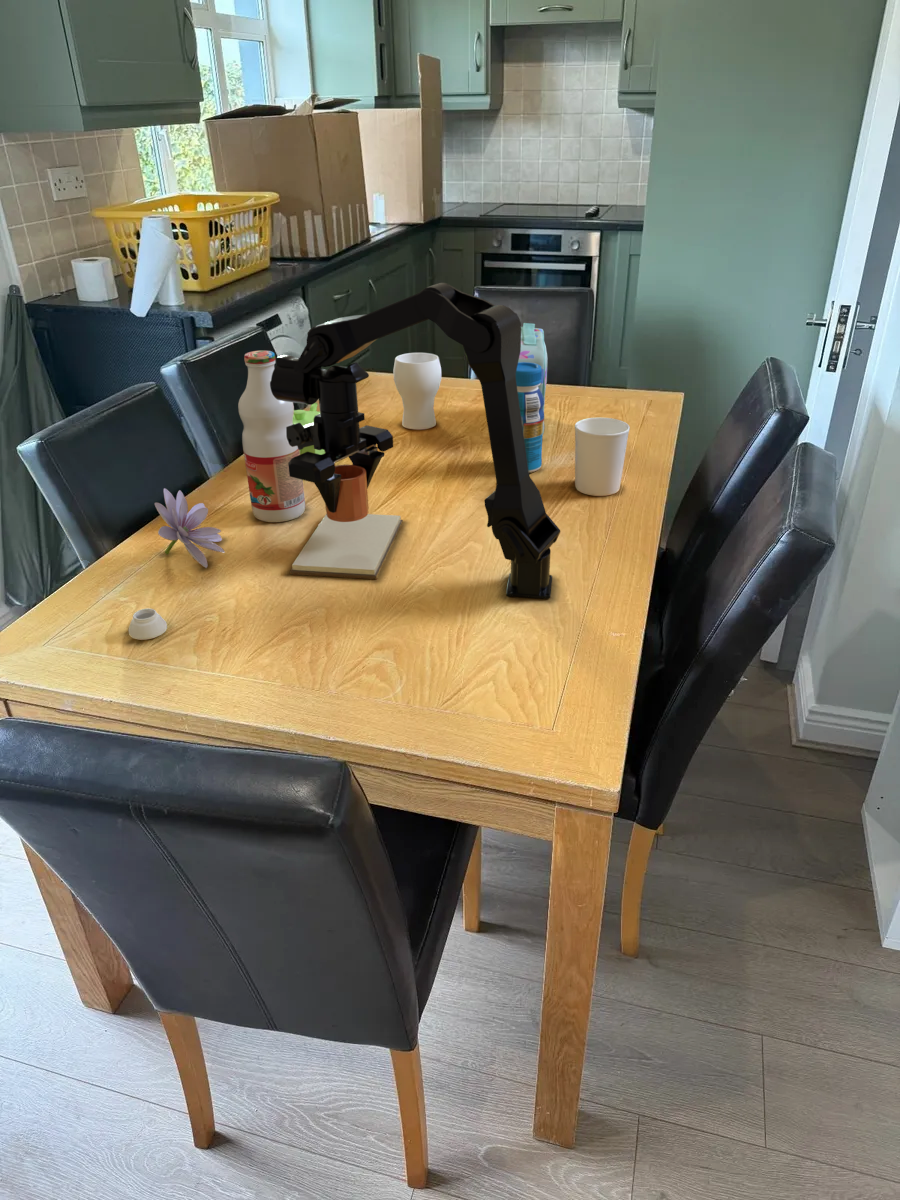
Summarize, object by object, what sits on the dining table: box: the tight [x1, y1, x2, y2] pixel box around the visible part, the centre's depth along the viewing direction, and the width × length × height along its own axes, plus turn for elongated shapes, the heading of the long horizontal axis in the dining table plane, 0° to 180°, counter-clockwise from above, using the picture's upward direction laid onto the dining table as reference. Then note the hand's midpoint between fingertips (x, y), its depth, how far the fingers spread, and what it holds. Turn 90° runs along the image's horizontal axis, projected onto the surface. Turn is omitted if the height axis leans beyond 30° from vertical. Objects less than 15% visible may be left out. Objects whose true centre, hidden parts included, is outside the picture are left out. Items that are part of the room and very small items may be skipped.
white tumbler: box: [574, 416, 631, 497], centre depth 155 cm, size 10×10×12 cm
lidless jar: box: [128, 607, 168, 641], centre depth 115 cm, size 5×3×5 cm
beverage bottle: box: [516, 362, 545, 474], centre depth 163 cm, size 8×8×20 cm
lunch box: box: [518, 322, 548, 435], centre depth 184 cm, size 27×10×21 cm, turn 178°
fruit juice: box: [237, 350, 306, 523], centre depth 143 cm, size 9×9×28 cm
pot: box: [324, 464, 370, 522], centre depth 133 cm, size 7×7×7 cm
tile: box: [289, 513, 404, 580], centre depth 137 cm, size 21×14×2 cm, turn 171°
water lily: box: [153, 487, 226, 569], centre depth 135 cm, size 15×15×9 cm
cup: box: [392, 352, 442, 430], centre depth 188 cm, size 11×11×15 cm
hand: (347, 504), depth 134 cm, fingers closed on pot, 7 cm apart
